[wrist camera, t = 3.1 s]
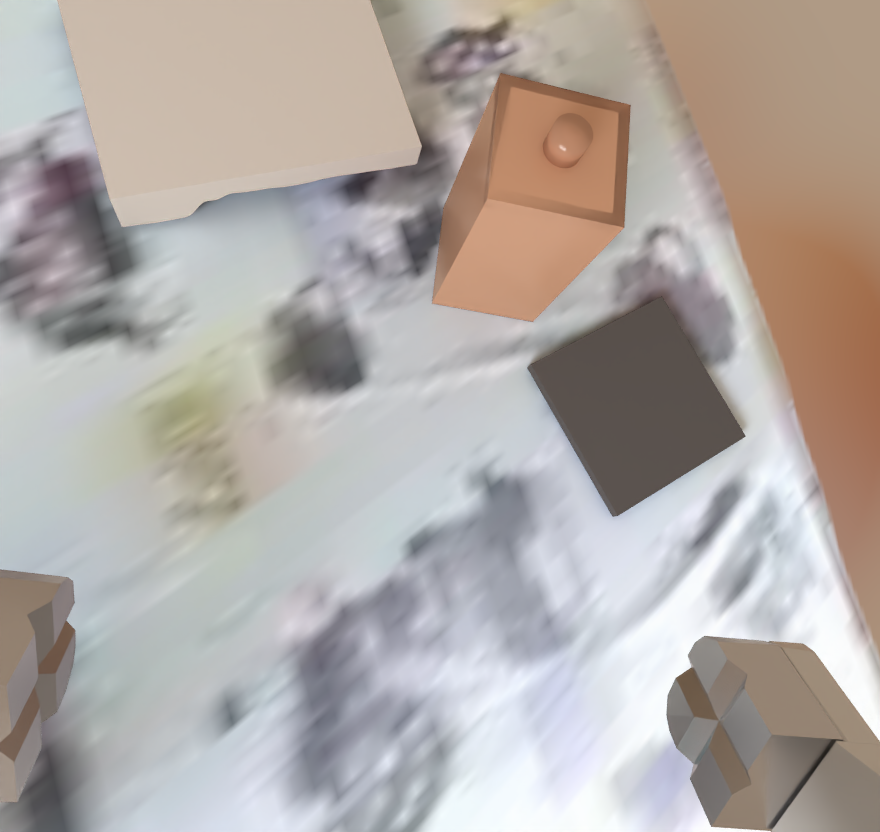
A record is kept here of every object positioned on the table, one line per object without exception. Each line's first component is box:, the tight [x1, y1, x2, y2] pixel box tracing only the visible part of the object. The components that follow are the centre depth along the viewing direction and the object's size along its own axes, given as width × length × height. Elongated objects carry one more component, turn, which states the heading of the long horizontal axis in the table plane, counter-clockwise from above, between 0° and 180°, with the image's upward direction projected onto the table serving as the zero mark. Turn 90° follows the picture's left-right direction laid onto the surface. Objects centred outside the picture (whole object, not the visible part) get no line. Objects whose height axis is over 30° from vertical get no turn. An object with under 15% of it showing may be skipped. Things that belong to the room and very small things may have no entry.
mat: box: [528, 296, 746, 516], centre depth 38 cm, size 9×9×1 cm
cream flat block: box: [57, 0, 422, 227], centre depth 37 cm, size 15×3×20 cm
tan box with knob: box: [432, 73, 631, 322], centre depth 33 cm, size 6×6×12 cm
